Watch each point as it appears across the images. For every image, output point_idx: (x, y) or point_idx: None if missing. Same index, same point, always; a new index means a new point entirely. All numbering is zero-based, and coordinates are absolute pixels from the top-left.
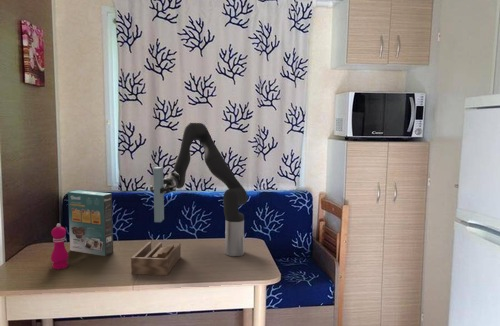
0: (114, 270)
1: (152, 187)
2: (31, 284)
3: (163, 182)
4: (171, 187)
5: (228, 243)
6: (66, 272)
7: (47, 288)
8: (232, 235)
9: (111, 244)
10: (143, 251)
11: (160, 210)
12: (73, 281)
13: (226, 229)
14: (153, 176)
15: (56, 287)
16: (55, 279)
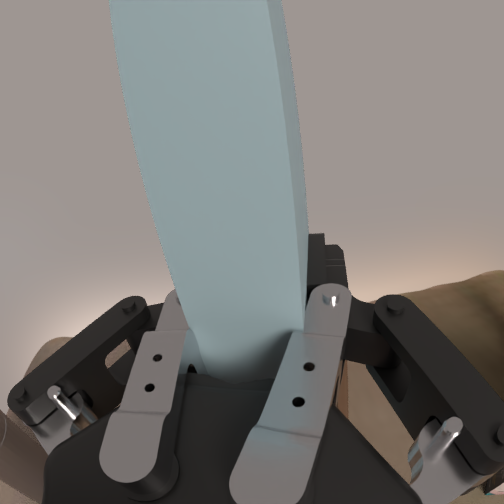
0: None
1: (378, 306)
2: (493, 287)
3: (168, 267)
4: (85, 338)
5: (40, 449)
6: (491, 337)
7: (458, 282)
8: (16, 425)
9: (502, 475)
10: (337, 406)
11: None
12: (442, 308)
13: (12, 433)
14: (293, 78)
15: (448, 286)
16: (479, 308)
